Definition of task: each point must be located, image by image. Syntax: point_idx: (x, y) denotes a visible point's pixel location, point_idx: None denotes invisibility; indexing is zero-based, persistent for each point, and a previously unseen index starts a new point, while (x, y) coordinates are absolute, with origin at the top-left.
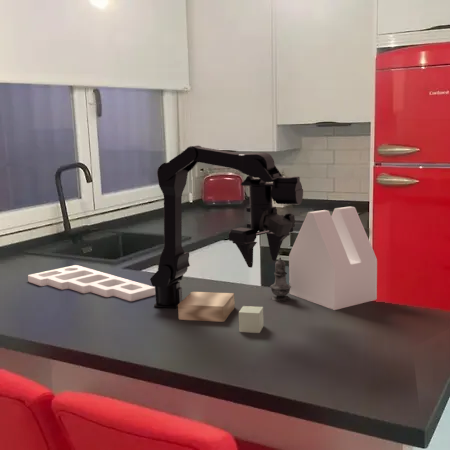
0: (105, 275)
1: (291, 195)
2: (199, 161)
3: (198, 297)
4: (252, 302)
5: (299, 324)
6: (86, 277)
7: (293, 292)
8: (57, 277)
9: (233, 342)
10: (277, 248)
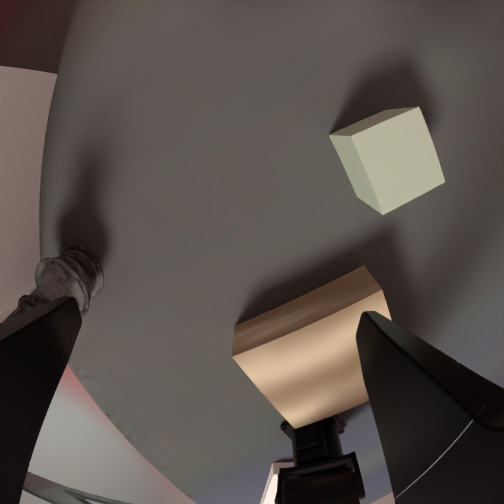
0: None
1: None
2: None
3: (332, 394)
4: (161, 315)
5: (237, 47)
6: None
7: (35, 266)
8: None
9: (468, 137)
10: (3, 340)
